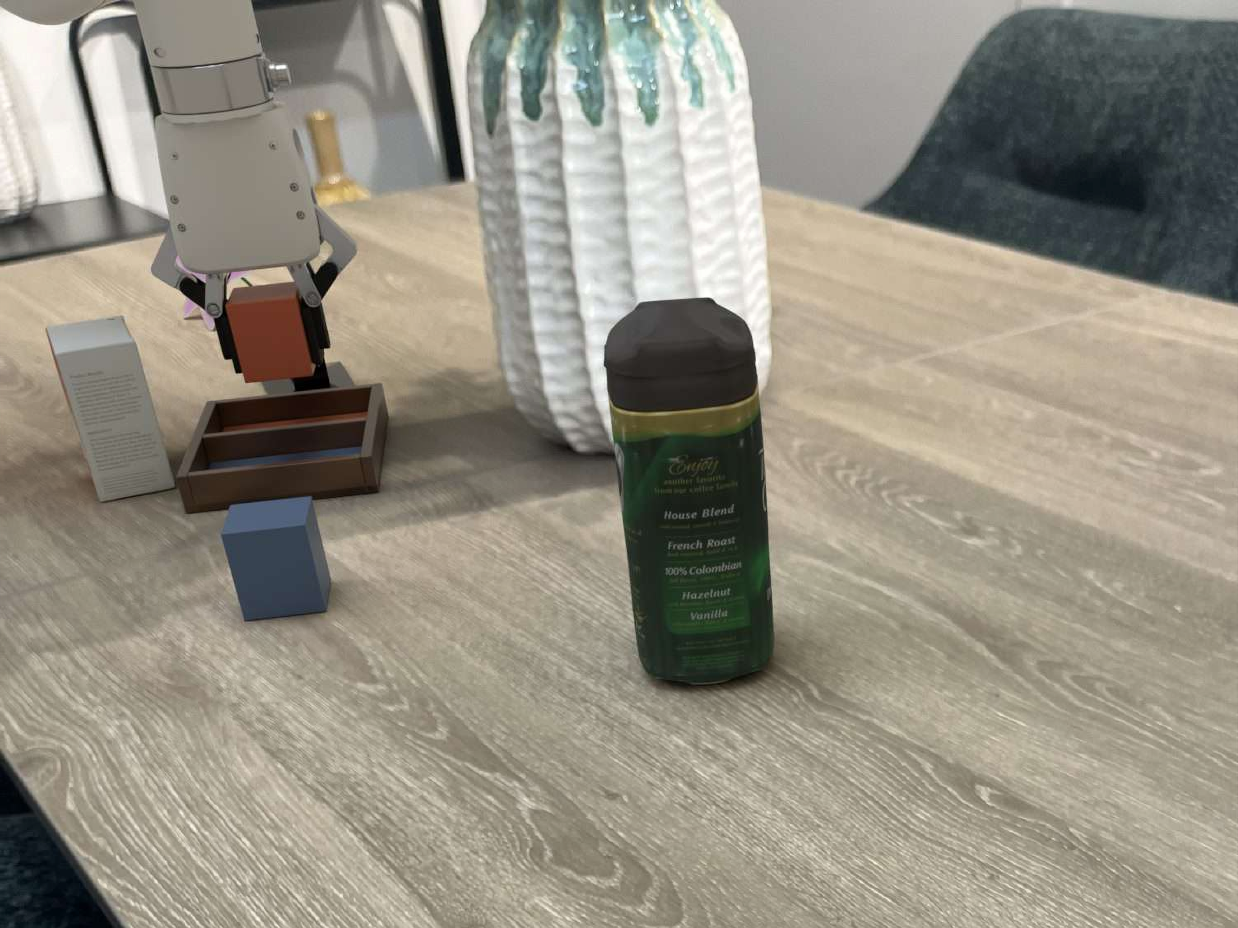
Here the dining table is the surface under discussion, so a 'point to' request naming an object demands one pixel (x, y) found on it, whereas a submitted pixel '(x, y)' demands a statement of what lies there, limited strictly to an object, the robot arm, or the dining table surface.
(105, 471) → the small box
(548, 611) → the dining table surface
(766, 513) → the coffee jar
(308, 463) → the sorting tray
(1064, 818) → the dining table surface
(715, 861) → the dining table surface
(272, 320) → the terracotta block
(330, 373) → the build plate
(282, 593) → the blue block
